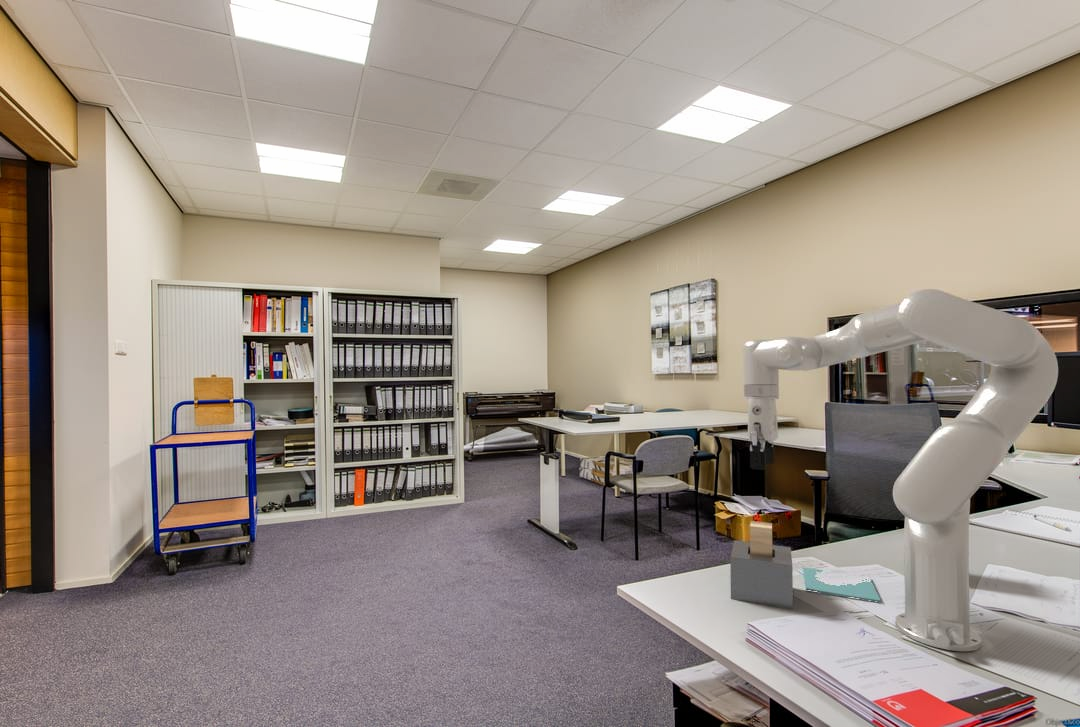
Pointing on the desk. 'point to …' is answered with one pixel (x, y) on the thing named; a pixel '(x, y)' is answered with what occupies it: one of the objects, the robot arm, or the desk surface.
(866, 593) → the teal mat
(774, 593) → the grey block with hole
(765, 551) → the oak plug
